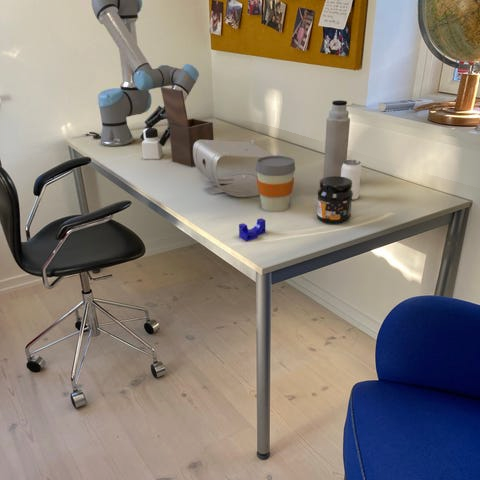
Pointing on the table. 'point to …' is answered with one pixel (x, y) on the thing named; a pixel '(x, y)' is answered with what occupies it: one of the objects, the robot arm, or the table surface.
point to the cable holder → (252, 230)
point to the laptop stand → (218, 149)
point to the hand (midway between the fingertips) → (151, 142)
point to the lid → (175, 106)
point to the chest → (188, 139)
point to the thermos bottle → (336, 139)
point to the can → (352, 175)
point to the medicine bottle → (151, 144)
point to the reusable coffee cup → (275, 181)
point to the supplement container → (334, 200)
